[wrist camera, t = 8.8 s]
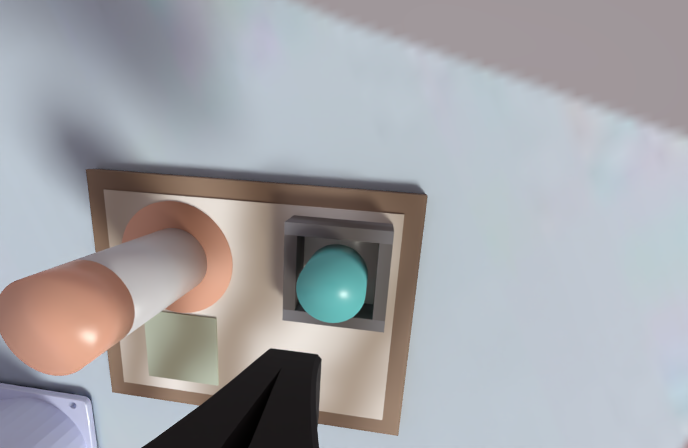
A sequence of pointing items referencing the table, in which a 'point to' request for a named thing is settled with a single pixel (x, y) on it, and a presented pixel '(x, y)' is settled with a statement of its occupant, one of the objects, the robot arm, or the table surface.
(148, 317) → the capsule peg
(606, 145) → the table surface
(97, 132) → the table surface
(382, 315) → the beige base plate
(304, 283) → the button
